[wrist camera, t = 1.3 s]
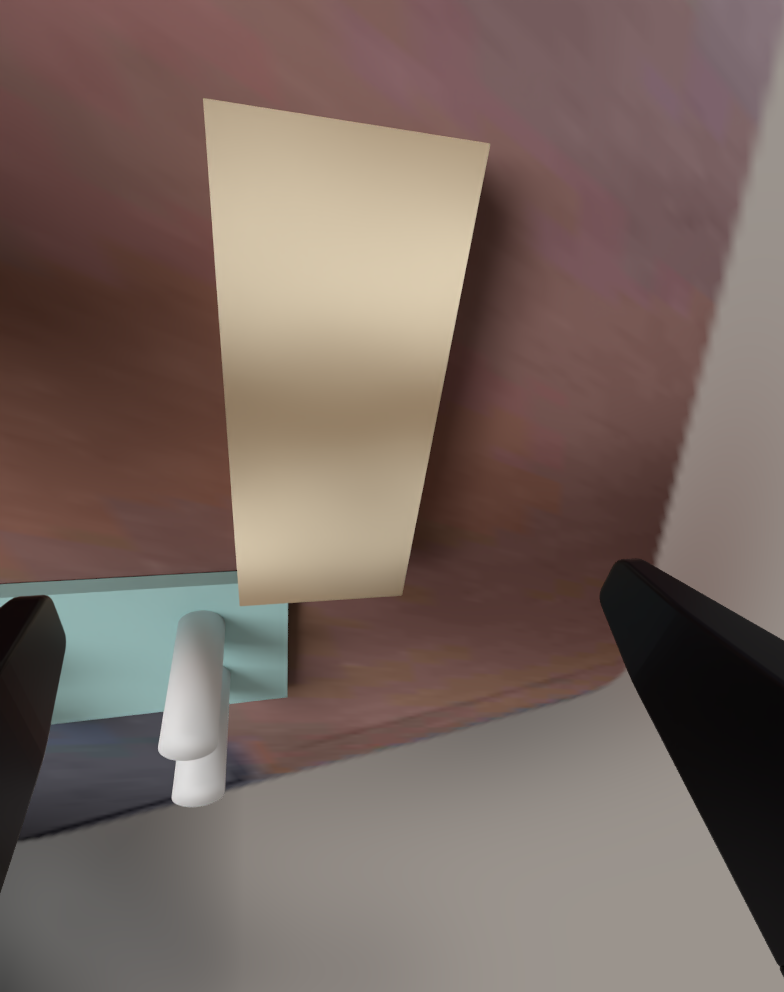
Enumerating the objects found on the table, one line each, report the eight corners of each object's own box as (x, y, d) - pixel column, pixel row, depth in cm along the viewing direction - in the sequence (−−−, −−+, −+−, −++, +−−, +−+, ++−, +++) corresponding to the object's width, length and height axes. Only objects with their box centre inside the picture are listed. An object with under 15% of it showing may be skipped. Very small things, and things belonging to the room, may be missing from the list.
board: (384, 534, 19) (401, 595, 16) (242, 540, 17) (239, 606, 15) (444, 138, 12) (490, 143, 9) (216, 102, 10) (203, 97, 8)
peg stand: (-100, 726, 19) (-195, 889, 15) (-205, 595, 15) (-374, 769, 11) (286, 684, 22) (292, 807, 18) (287, 568, 18) (295, 693, 14)
